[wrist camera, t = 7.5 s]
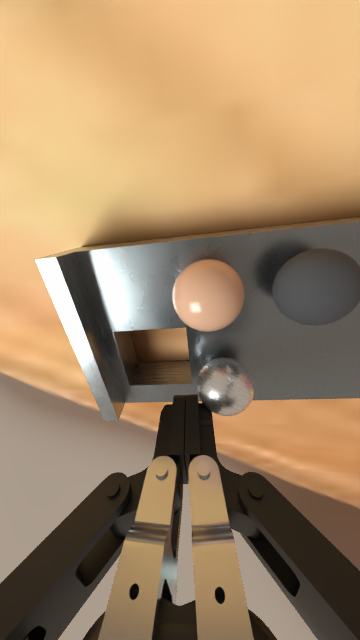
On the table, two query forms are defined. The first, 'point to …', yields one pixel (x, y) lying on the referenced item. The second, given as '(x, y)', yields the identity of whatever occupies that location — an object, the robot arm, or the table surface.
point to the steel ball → (225, 386)
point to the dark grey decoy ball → (317, 286)
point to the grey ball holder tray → (232, 341)
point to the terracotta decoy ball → (208, 295)
